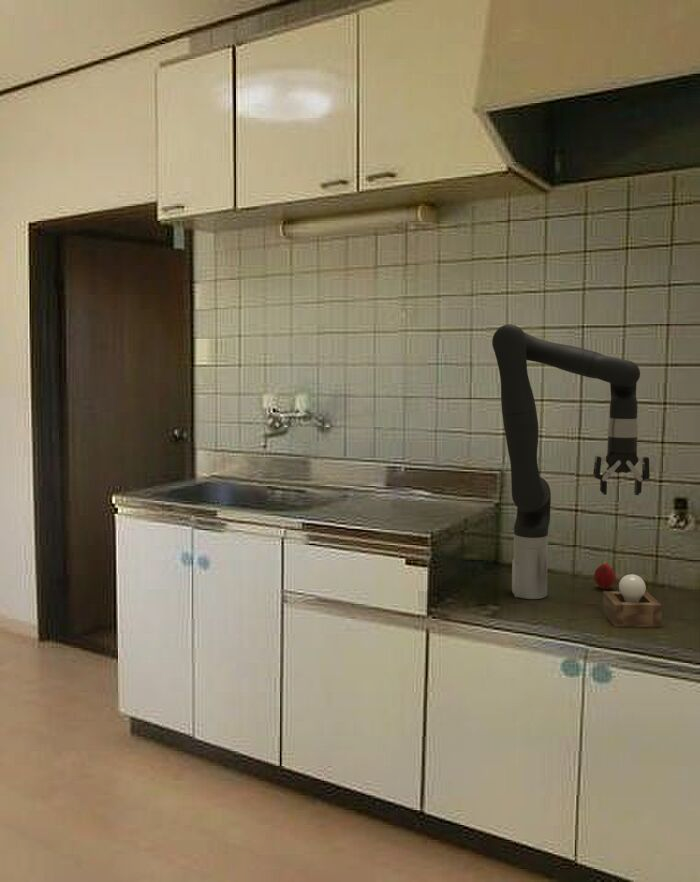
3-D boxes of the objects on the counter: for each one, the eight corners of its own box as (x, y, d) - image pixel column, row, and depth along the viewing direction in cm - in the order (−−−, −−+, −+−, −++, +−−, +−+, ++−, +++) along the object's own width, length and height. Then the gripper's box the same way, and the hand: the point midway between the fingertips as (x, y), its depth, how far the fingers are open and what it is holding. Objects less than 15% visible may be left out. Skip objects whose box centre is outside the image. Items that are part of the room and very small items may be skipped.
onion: (611, 593, 220) (611, 565, 219) (590, 590, 224) (591, 562, 223) (618, 588, 225) (618, 561, 224) (598, 585, 228) (598, 558, 228)
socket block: (614, 626, 193) (615, 604, 193) (602, 611, 204) (603, 591, 204) (661, 627, 193) (661, 605, 192) (646, 612, 204) (647, 591, 203)
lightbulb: (644, 622, 195) (646, 579, 193) (617, 619, 197) (618, 576, 196) (644, 614, 200) (645, 572, 199) (618, 612, 203) (619, 570, 201)
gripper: (598, 436, 208) (596, 496, 210) (654, 436, 207) (651, 497, 208) (592, 433, 215) (590, 491, 217) (645, 433, 214) (643, 492, 216)
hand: (620, 494), depth 213 cm, fingers open, 8 cm apart
